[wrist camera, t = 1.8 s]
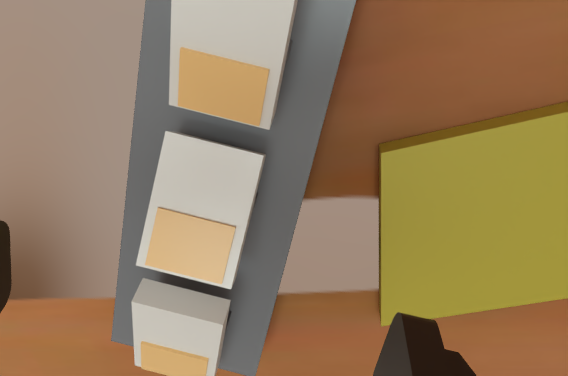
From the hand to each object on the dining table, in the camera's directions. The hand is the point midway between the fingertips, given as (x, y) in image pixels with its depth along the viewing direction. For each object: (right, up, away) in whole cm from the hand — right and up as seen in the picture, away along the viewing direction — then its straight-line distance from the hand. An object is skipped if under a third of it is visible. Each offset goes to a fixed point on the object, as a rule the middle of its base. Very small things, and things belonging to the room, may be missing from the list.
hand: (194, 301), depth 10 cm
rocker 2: (-2, +1, +15) cm, 16 cm away
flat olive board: (+19, +2, +21) cm, 28 cm away
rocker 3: (-4, -6, +19) cm, 20 cm away
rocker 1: (-1, +9, +12) cm, 15 cm away
